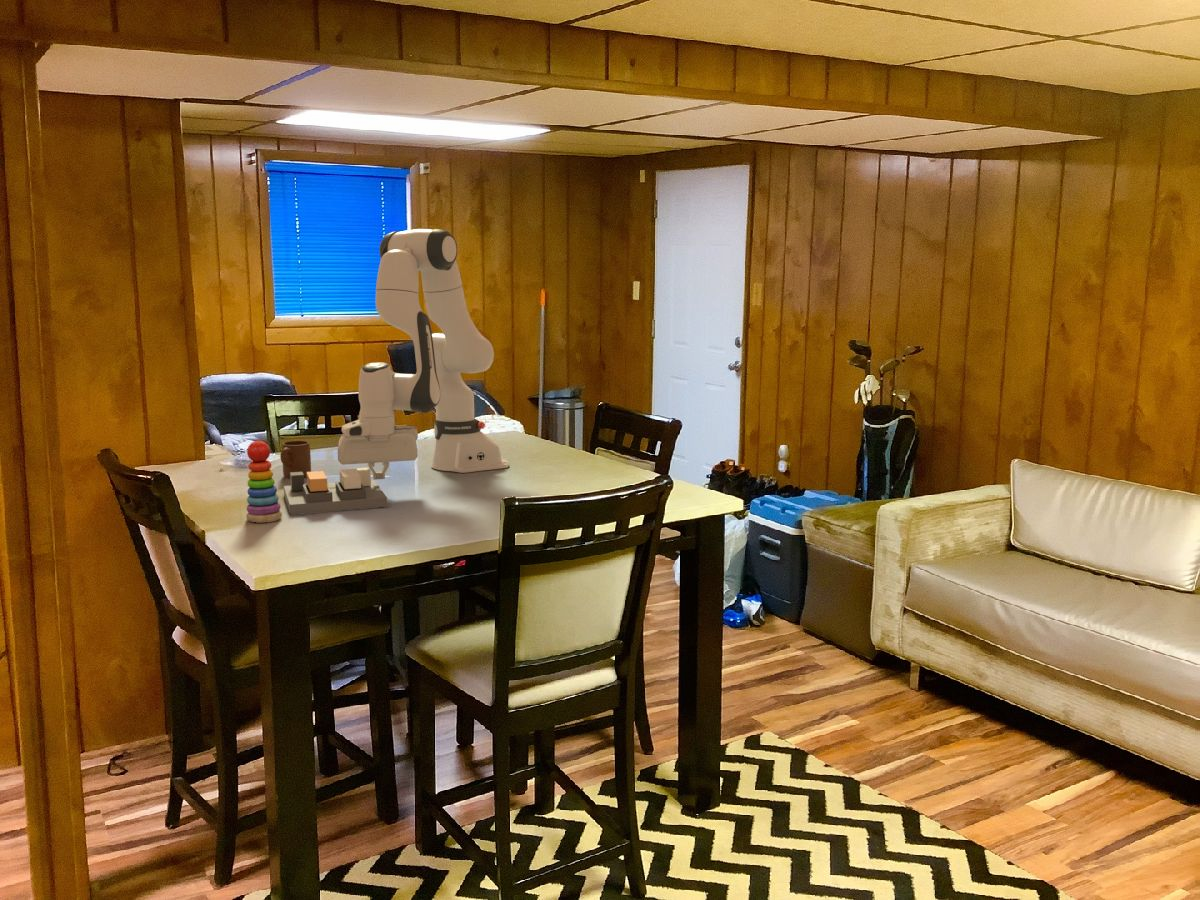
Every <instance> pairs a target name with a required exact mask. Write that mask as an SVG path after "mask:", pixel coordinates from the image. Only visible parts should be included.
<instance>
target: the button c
mask: <svg viewBox="0 0 1200 900" xmlns="http://www.w3.org/2000/svg"><path fill="white" fill-rule="evenodd" d="M327 483H328V478H327V476H326V474H325V472H324V471H323V470H319V471H318V470H317V471H315V470H314V471H311V472H307V477H306V484H307V485H308V487H309V489H310V492H312V491H326V490H327Z"/></svg>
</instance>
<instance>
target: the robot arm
mask: <svg viewBox="0 0 1200 900" xmlns="http://www.w3.org/2000/svg"><path fill="white" fill-rule="evenodd" d="M378 251H379V257H380V262H379V266H378V272H377V275H376V277H377V278H376V284H375V285H376V287H375V309H376V311H377V312H376V313H377V314H378V315H379V317H380V318H381V319H382V320H383V321H384V322H385V323H387V324H388V325H390V326H392V327H394V328H396V329H398V330H400V331H401V332H403V333H406V334H407V335H408V336H409V337H410V339H411V340H412V342H413V346H414V355H415V364H416V366H415V367H416V372H415V374H414V373H399V372H395V371H393V370H392V368H391V365H390V364H389V363H387V362H384V361H383V362H381V361H380V362H379V361H376V362H375V361H374V362H370V363H366V364H364V365H362V366H361V368H360V370H359V376H358V377H359V378H358V401H359V405H360V410H359V413H358V415H359V417H358V419H356V420H354V421H350V422H348V423H346V424H343V425H342V426H341V432H342V435H341V436H340V437H339V440H338V446H337V447H338V448H337V461H338V463H339V464H340V465H356V464H357V465H358V464H359V465H361V464H367V467H368V468H369V469H370V472H372V473H371V474H372V480H375V481H376V480H385V479H386V472H387V470H388V468H389V466H390V463H391V462H392V463H393V462H395V463H396V462H408V461H416V459H418V457H419V454H418V445H417V441H418V438H419V435H418V433H419V430H418V429H417V427H416V426H413V425H412V424H405V425H403V424H401V425H400V424H399V425H395V424H396V423H395V412H394V410H397V411H410V412H411V411H413V412H415V413H422V414H423V413H424V414H427V413H429V412H431V411H432V410H434V409H435V417H436V418H435V419H434V427H433V428H434V431H433V432H434V439H435V444H434V445H435V447H434V448H435V449H434V455H433V460H432V463H431V468H432V469H435V470H438V471H445V472H455V473H460V474H462V473H472V472H483V471H492V470H500V469H506V468H508V467H509V466H510V464H509V461H508V460H507V459H505V458H503V457H502V455H501V454H502V453H501V449H500V446H499V445H498V443H497V442H495V441H494V440H493V439H492V438H490V437H489V436H488V435H486V434H485V433H483V431H482V430H483V429H485V428H486V423H485V422H484V421H482V420H478V419H477V418H475V395H474V392H473V390H472V389H471V388H470V386H468V385H467V384H466V382H465V381H464V380H463V378H462V375H461V373H462V374H477V373H482V372H483V373H484V372H486V371H487V370H489V369H490V367H491V366H492V364H493V361H494V358H495V352H494V351H495V349H494V347H493V345H492V342H490V340H489V339H487V338H486V337H485V336H483V335H482V333H481V332H480V331H479V330H478V329H477V327H476V325H475V323H474V321H473V320H472V318H471V316H470V313H469V311H468V308H467V302H466V298H465V293H464V288H463V282H462V277H461V273H460V269H459V266H458V265H459V264H458V263H457V262H458V261H457V257H458V244H457V241H456V239H455V237H454V236H453V234H452V233H450V231H447V230H445V229H441V228H440V229H439V228H434V229H430V228H415V229H409V230H403V231H399V230H396V231H392V232H390V233H387V234H385V235H384V236H383V238H382V240H381V241H380V244H379V250H378ZM419 272H420V273H421V274H420V275H421V284H422V291H423V296H424V301H425V302H424V304H425V308H426V313H425V312H423V309H422V308H421V305H420V300H419V291H420V287H419V285H420V284H419V282H420V281H419V280H420V279H419ZM430 321H431V322H432V323H434V324H435V325H437V327H438V328H439V329H440V330H441V332H434V333H432V327H431V322H430ZM375 463H377V464H378V463H381V465H382V466H383V467H382V469H381V471H375V469H374V468H373V467H375Z"/></svg>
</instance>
